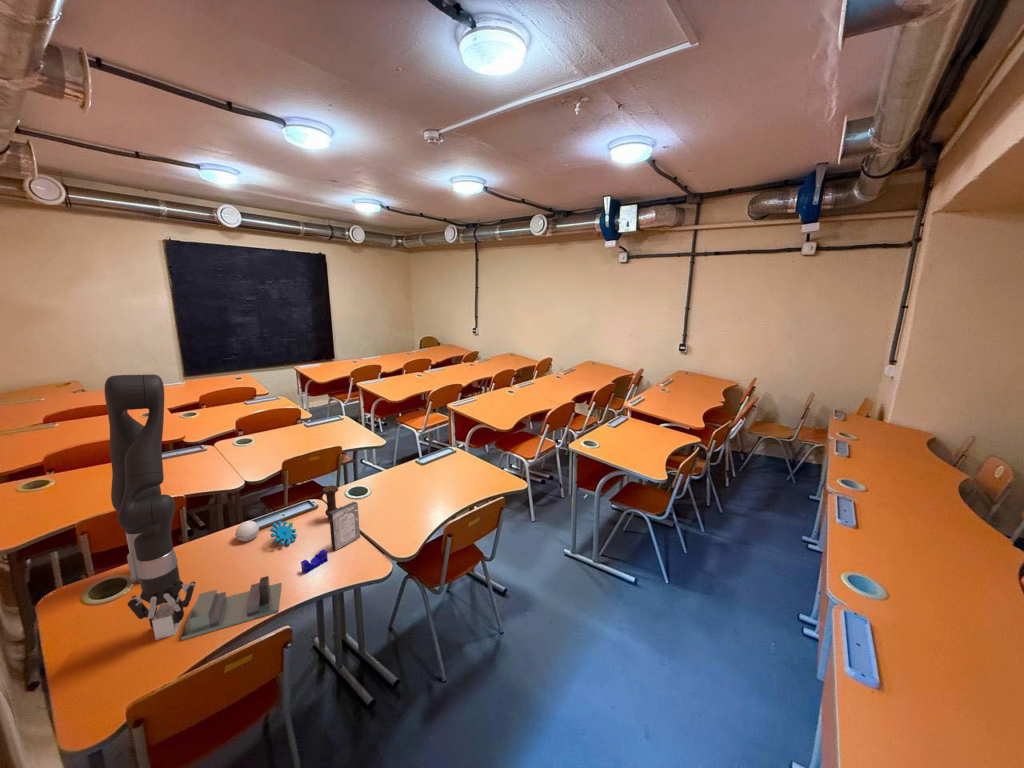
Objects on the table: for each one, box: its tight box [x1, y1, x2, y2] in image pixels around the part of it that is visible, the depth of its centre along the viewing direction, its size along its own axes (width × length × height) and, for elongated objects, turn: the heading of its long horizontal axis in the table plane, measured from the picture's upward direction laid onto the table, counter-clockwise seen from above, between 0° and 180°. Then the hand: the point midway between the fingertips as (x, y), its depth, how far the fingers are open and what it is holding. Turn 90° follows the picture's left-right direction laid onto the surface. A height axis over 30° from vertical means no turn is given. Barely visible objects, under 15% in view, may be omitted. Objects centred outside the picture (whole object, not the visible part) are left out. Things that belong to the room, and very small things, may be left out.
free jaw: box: [246, 576, 270, 615], centre depth 112 cm, size 5×10×6 cm, turn 27°
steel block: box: [152, 603, 182, 641], centre depth 103 cm, size 4×6×6 cm, turn 27°
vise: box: [180, 582, 283, 641], centre depth 109 cm, size 22×12×5 cm, turn 117°
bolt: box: [322, 484, 339, 522], centre depth 155 cm, size 6×5×15 cm
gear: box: [269, 520, 298, 546], centre depth 142 cm, size 11×6×10 cm
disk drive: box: [328, 501, 361, 551], centre depth 141 cm, size 10×3×15 cm, turn 145°
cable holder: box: [300, 548, 329, 575], centre depth 129 cm, size 8×4×4 cm, turn 149°
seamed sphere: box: [234, 520, 260, 543], centre depth 142 cm, size 10×7×7 cm
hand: (168, 623), depth 103 cm, fingers closed on steel block, 4 cm apart
